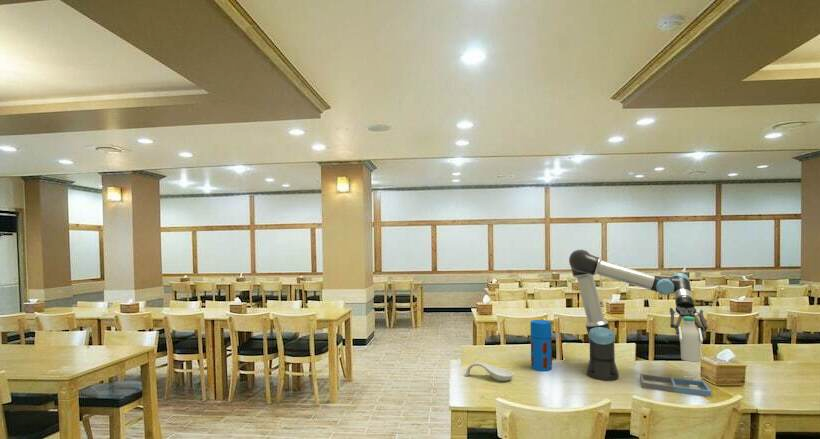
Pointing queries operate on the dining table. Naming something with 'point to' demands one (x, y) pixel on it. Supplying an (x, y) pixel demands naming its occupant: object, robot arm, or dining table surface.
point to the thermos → (541, 345)
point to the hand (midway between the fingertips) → (691, 341)
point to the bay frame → (687, 381)
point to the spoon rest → (493, 371)
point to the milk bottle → (690, 341)
